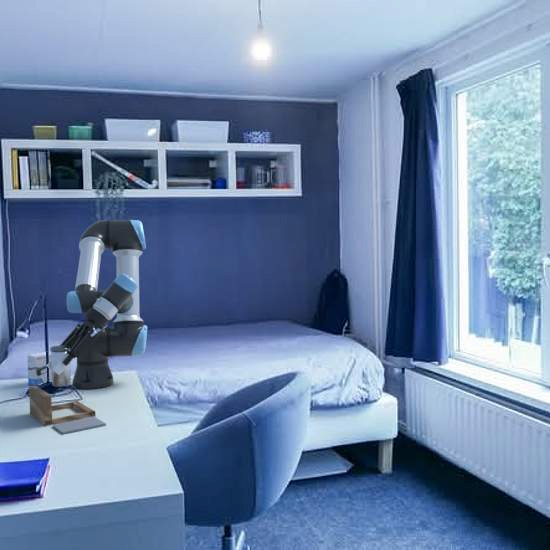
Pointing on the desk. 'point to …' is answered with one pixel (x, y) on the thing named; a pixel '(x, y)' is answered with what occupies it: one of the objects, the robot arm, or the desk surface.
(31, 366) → the ink box
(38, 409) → the frame
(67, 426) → the felt pad
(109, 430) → the desk surface
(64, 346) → the canister
